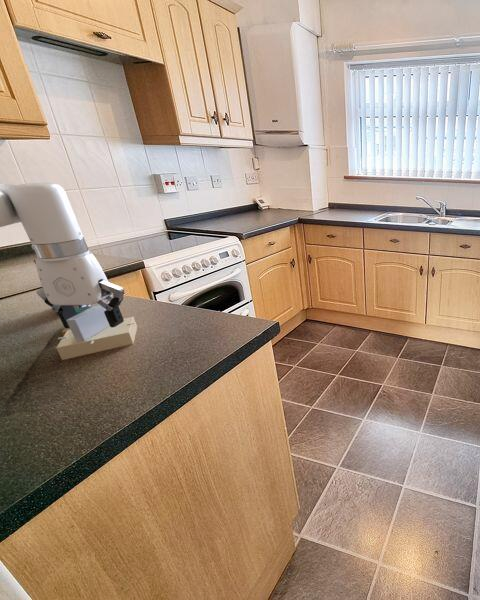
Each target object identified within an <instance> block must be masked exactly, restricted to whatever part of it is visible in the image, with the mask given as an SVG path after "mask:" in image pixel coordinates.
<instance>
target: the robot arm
mask: <svg viewBox="0 0 480 600" xmlns="http://www.w3.org/2000/svg"><path fill="white" fill-rule="evenodd" d="M18 223H21V224H22V227H23V228H24V231H25V233H26V236H27V237H28V240H29V241H30V243H31V249H32V250H33V251H34V252H35V255H36V258H35V259H34V260H35V261H36V264H35V267H36V273H37V275H38V279H39V282H40V284H41V287H40V288H39V289H38V290H36V292H35V293H36V295H38V297H39V298H41V299H42V301H43V302H44V303H45V304H46V305H47V306H49V307H51V309H52V311H53V312H56V313H57V315H58V317H59V319H60V321H61V323H62V325H63V328H70V327H69V325H68V323H67V321H66V320H67V319H69V318H71V317H73V316H75V315H77V313H76V311H75V308H74V307H73V306H70V305H91V306H92V305H93V306H94V305H97V304H99V305H101V306H102V307H103V308H105V309H106V311H104V313H105V316H106V318H107V321H108V323H109V325H110V327H116V326H117V325H119V324H121V323H122V322H123V321H124V317H123V314H122V312H121V309H120V306H121V305H122V301H123V300H124V294H125V288H124V287H122V286H119V285H117V284H114V283H113V282H110V281H109V280H108V277H107V276H106V274H105V272H104V269H103V268H102V266H101V264H100V263H99V261H98V259H97V258H96V257H95V255H94V253H93V252H90V250H89V247H88V244H87V242H86V239H85V237H84V235H83V232H82V230H81V227H80V225H79V222H78V220H77V216H76V215H75V212H74V210H73V207H72V205H71V203H70V199H69V197H68V195H67V193H66V191H65V189H64V188H63V186H61V185H60V184H57V183H54V182H34V183H21V184H20V183H19V184H9V183H0V228H3V227H6V226H11V225H15V224H18ZM106 301H108V302H109V303H107V302H106Z"/></svg>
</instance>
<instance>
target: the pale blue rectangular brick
mask: <svg viewBox="0 0 480 600" xmlns="http://www.w3.org/2000/svg"><path fill="white" fill-rule="evenodd" d="M105 301H106V302H107V303H109V301H108V300H105ZM104 311H106V309H105V308H103V307H102V306H101V305H99V304H98V303H96V304H94V305H93V306H92V307H91V308H89V309H87V310H85V311H83V312H81V313H79V314H77V315H75V316H73V317H71V318H69V319H67V320H66V321H67V323H68V325H69V327H70V329H71V331H72V333H73V335H74V337H75V340H76V341H86V340H87V339H89V338H91V337H92V336H94V335H95V334H97V333H99V332H100V331H102V330H104V329H105V328H107V327H108V326H110V325H109V323H108V321H107V318H106V316H105V313H104Z"/></svg>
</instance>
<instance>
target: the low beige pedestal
mask: <svg viewBox="0 0 480 600" xmlns="http://www.w3.org/2000/svg"><path fill="white" fill-rule="evenodd" d="M123 319H124V321H123V322H122V323H121V324H119V325H117V326H116V327H110V326H108V327H107V328H105V329H104V330H102V331H100V332H99V333H97V334H95V335H94V336H92V337H91V338H89V339H87V340H86V341H76V340H75V337H74V335H73V333H72V331H71V329H69V330H67V332H66V333H65V335H64V336H63V335H62V336H61V337H58V338H57V340H60V341H59V343H58V344H57V346H56V347H55V349H56V350H57V353H58V354H59V357H60V358H61V360H62V361H65V360H68V359H73V358H76V357H83V356H86V355H90V354H95V353H99V352H103V351H107V350H112V349H116V348H121V347H126V346H130V345H133V344H134V343H135V339H136V334H137V331H138V325H137V323H136V320H135V317H134V316H130V317H123Z"/></svg>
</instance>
